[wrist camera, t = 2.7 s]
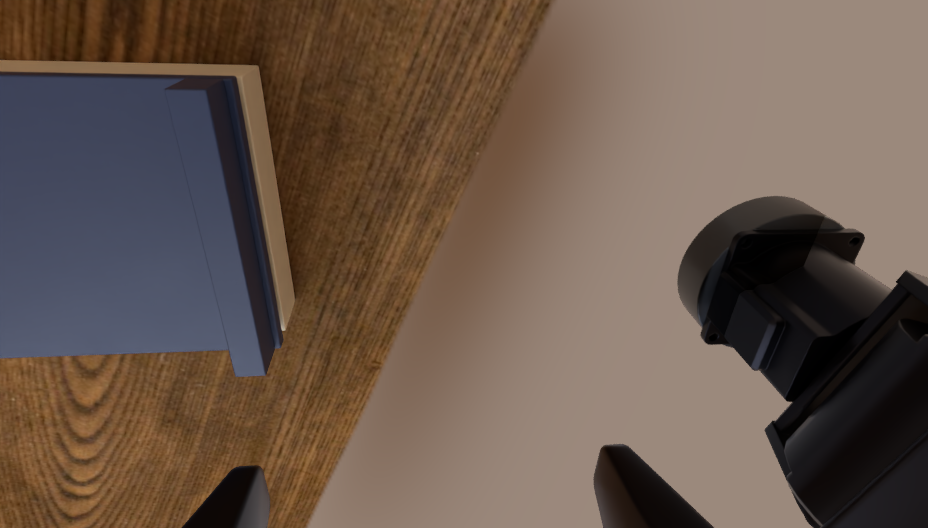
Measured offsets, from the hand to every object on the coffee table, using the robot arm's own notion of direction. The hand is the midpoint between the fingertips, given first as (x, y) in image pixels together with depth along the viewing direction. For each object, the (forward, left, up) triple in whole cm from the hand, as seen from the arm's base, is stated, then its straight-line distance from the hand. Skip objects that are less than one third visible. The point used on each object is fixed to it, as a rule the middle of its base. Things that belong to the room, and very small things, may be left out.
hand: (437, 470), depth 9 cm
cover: (+13, 0, -10) cm, 16 cm away
